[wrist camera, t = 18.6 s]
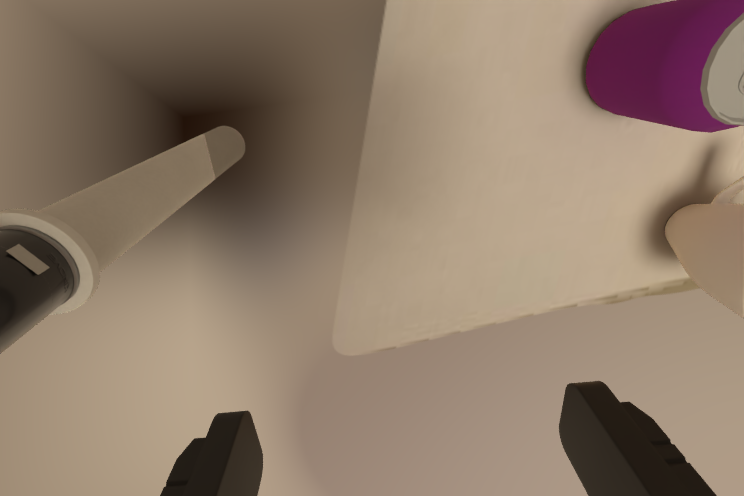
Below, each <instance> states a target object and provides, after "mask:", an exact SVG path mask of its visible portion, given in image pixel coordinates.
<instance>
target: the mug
mask: <svg viewBox="0 0 744 496" xmlns="http://www.w3.org/2000/svg"><path fill="white" fill-rule="evenodd" d="M743 189H744V177H742V178H740V179H739V180H737V181H736V182H734V183H733V184H731V185H730V186H728V187H727V188H725V189H724V190H723V191H721V192H720V193H719V194H717V195H716V197H715V198H714V199H713V201H712V203H711V204H692V205H688V206H685V207H683V208H681V209H679V210H678V211H676V212H675V213H674V214H673V215H672V216H671V217H670V219H669V220H668V222H667V224H666V227H665V236H666V238H667V240H668V242H669V244H670V245H671V247H672V249H673V251H674V252H675V254H676V256H677V257H678V259H679V261H680V263H681V264H682V266H683V268H684V269H685V271H686V272H687V274H688V275H689V276H690V277H691V279H692V280H693V281H694V282H695V283H696V284H697V285H698V286H699V287H700V288H701V289H702V290H704V291H705V292H706V293H707V294H709V295H710V296H711V297H713V298H715V299H716V300H717V301H719V302H720V303H722V304H723V305H725V306H726V307H728V308H729V309H731V310H732V311H733V312H735V313H736V314H738V315H740V316H741V317H743V318H744V204H731V203H730V200H731V199H732V197H733V196H734V195H735V194H737V193H738V192H740V191H741V190H743Z"/></svg>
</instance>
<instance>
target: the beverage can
mask: <svg viewBox="0 0 744 496" xmlns="http://www.w3.org/2000/svg"><path fill="white" fill-rule="evenodd" d="M586 85H587V88H588V91H589V94H590V96H591V98H592V99H593V100H594V101H595V102H596V104H597V105H598V106H599V107H601V108H603V109H605V110H607V111H609V112H611V113H614V114H617V115H621V116H626V117H631V118H635V119H640V120H645V121H649V122H654V123H659V124H663V125H668V126H672V127H677V128H682V129H686V130H691V131H700V132H716V131H720V130H725V129H729V128H734V127H738V126H744V0H676V1H671V2H665V3H660V4H655V5H650V6H646V7H642V8H639V9H635V10H632V11H630V12H628V13H626V14H624V15H623V16H621V17H619V18H618V19H616V20H614V21H613V22H612V23H611V24H610V25H609V26H608V27H607V28H606V29H605V30H604V31H603V32H602V33H601V34H600V36H599V38H598V39H597V41H596V43H595V45H594V46H593V48H592V50H591V52H590V56H589V59H588V62H587V66H586Z"/></svg>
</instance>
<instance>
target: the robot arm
mask: <svg viewBox="0 0 744 496" xmlns="http://www.w3.org/2000/svg"><path fill="white" fill-rule="evenodd" d="M79 283H80V275H79V270H78V267H77V265H76V263H75V261H74V259H73V257H72V256H71V255H70V253H69V252H68V251H67V250H66V249H65V248H64V247H63V246H62V245H61V244H60V243H59V242H58V241H56V240H55V239H53V238H52V237H50V236H49V235H47V234H45V233H43V232H41V231H39V230H36V229H33V228H30V227H26V226H19V225H7V226H2V227H0V354H1V353H2V352H3V351H4V350H5V349H7V348H8V347H9V346H10V345H12V344H13V343H14V342H15V341H17V340H18V339H19V338H20V337H22V336H23V335H24V334H25V333H27V332H28V331H29V330H30V329H32V328H33V327H34V326H35V325H37V324H38V323H39V322H40V321H41V320H43V319H44V318H45V317H47V316H48V315H49V314H50V313H51V312H53V311H54V310H55V309H56V308H58V307H59V306H60V305H62V304H64V303H65V302H67V301H68V300H69V299H70V298H72V297H73V296H74V294H75V293H76V292H77V290H78V287H79ZM559 433H560V438H561V442H562V445H563V448H564V450H565V452H566V454H567V456H568V458H569V460H570V461H571V464H572V466H573V467H574V469H575V471H576V473H577V475H578V477H579V479H580V480H581V482H582V484H583V486H584V488H585V490H586V492H587V494H588V495H589V496H716V494H715V493H714V492H713V491H712V490H711V488H710V487H709V486H708V485H707V484H706V482H705V481H704V480H703V479H702V478H701V476H700V475H699V474H698V473H697V472H696V470H695V469H694V468H693V467H692V466H691V464H690V463H687V462H686V460H685V457H684V456H683V455H682V453H681V452H680V451H679V450H678V449H677V448H676V446H675V445H673V444H671V442H670V439H669V438H668V437H667V435H666V434H665V433H664V432H663V431H662V429H661V428H660V427H659V426H658V425H657V423H656V422H655V421H654V420H653V419H652V418H651V417H650V416H648V415H647V414H645V413H644V412H643V411H641V410H640V409H638V408H637V407H636V406H634V405H633V404H632V403H630V402H621V403H620V402H619V401H618V399H617V398H616V397H615V395H614V394H613V393H612V392H611V390H610V389H609V388H608V387H607V385H606V384H604V383H603V382H601V381H594V382H582V383H571V384H568V385H567V387H566V390H565V396H564V401H563V407H562V413H561V418H560V423H559ZM262 470H263V454H262V449H261V446H260V442H259V439H258V436H257V433H256V429H255V426H254V423H253V420H252V417H251V414H250V412H249V411H240V412H229V413H218V414H217V415H216V416H215V417H214V419H213V421H212V424H211V426H210V428H209V431H208V434H207V436H206V438H196V439H194V440H193V441H192V442H191V443H190V444H189V445H188V447H187V448H186V449H185V450H184V451H183V453H182V454H181V455H180V456H179V457H178V458H177V460H176V462H175V464H174V466H173V469H172V471H171V473H170V476H169V477H168V480H167V482H166V487H164V488H163V491H162V493H161V495H160V496H257V494H258V490H259V486H260V481H261V477H262Z"/></svg>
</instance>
